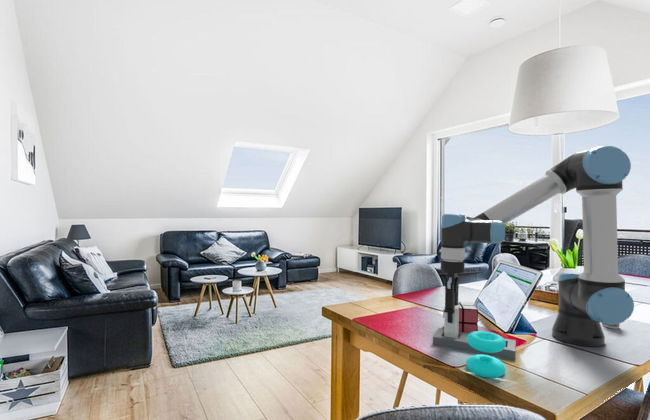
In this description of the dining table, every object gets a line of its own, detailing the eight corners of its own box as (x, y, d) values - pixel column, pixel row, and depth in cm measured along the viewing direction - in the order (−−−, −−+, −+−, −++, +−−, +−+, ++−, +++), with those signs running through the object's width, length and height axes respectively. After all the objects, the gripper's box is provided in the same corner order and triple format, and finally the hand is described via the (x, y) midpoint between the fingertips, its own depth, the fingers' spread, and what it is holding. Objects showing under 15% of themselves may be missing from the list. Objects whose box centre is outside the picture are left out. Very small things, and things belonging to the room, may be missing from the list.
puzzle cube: (477, 338, 128) (478, 309, 128) (447, 335, 130) (448, 307, 130) (472, 328, 138) (472, 302, 138) (444, 326, 140) (444, 300, 140)
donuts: (495, 329, 107) (513, 342, 97) (494, 363, 107) (512, 380, 97) (461, 329, 107) (475, 342, 97) (460, 363, 107) (475, 379, 97)
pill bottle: (598, 323, 145) (599, 299, 145) (614, 324, 144) (614, 300, 144) (606, 328, 140) (606, 302, 139) (622, 329, 138) (623, 303, 138)
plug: (458, 341, 123) (459, 294, 123) (456, 345, 120) (457, 297, 119) (444, 338, 125) (445, 292, 125) (442, 342, 122) (442, 295, 122)
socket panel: (515, 349, 118) (515, 339, 118) (515, 361, 109) (515, 350, 109) (438, 336, 129) (438, 327, 129) (432, 345, 120) (432, 336, 120)
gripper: (445, 256, 131) (444, 321, 132) (435, 262, 116) (434, 335, 117) (467, 257, 128) (466, 324, 128) (460, 264, 113) (459, 340, 113)
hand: (451, 329), depth 122 cm, fingers closed on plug, 4 cm apart
